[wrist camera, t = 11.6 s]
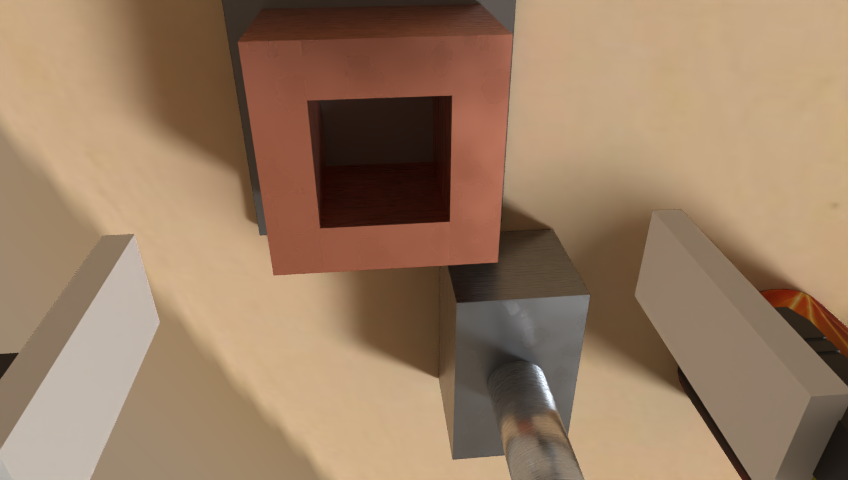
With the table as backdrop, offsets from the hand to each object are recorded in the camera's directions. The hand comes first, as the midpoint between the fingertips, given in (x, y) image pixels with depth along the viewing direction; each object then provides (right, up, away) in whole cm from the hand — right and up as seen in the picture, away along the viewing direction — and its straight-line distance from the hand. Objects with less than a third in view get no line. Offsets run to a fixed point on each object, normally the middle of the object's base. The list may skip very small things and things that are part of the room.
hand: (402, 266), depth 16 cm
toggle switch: (+4, -3, +19) cm, 20 cm away
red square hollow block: (-2, +6, +12) cm, 13 cm away
